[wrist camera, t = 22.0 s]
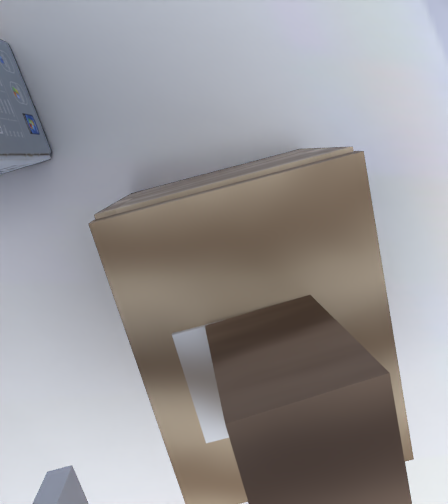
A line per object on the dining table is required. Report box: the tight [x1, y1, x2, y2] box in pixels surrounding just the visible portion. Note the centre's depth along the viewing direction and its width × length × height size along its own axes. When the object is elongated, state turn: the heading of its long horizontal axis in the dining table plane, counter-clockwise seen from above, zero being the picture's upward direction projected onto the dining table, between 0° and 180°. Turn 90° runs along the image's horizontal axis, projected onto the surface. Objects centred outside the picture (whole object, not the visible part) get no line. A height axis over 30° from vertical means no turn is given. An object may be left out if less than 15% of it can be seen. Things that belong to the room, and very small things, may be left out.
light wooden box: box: [94, 147, 353, 219], centre depth 25 cm, size 16×12×10 cm
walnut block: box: [205, 295, 412, 504], centre depth 16 cm, size 5×5×7 cm
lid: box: [89, 151, 413, 504], centre depth 20 cm, size 16×12×1 cm
